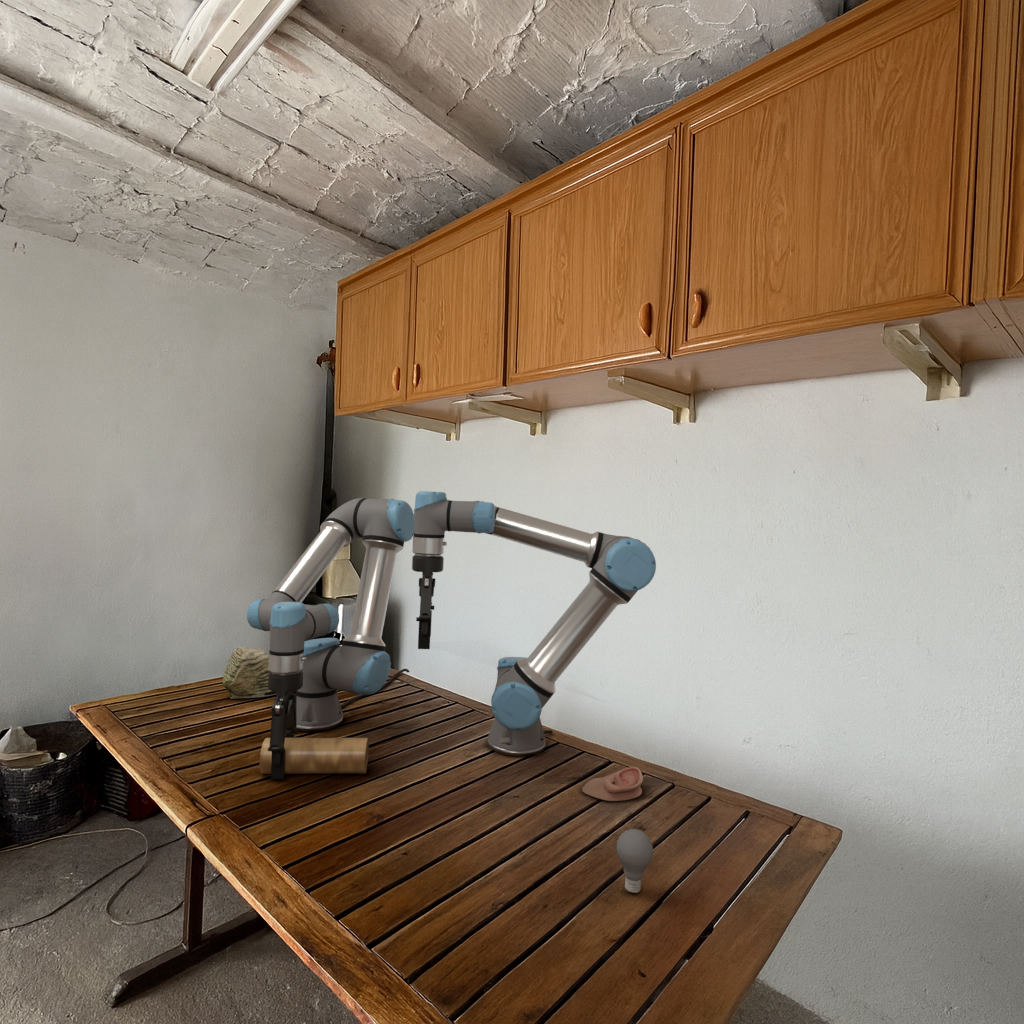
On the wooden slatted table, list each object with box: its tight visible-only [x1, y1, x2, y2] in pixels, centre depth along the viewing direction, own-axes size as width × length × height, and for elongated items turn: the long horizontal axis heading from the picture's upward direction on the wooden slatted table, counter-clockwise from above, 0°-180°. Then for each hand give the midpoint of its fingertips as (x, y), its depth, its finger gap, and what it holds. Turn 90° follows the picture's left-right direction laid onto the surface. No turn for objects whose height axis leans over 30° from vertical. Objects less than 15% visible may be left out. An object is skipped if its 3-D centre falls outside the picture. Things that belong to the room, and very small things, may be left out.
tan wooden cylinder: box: [259, 737, 370, 775], centre depth 145 cm, size 23×8×8 cm, turn 96°
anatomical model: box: [581, 766, 644, 802], centre depth 142 cm, size 13×4×12 cm
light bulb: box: [615, 828, 654, 894], centre depth 106 cm, size 6×6×10 cm
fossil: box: [222, 646, 277, 699], centre depth 198 cm, size 9×18×15 cm, turn 132°
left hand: (282, 770), depth 145 cm, fingers closed on tan wooden cylinder, 8 cm apart
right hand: (424, 642), depth 154 cm, fingers open, 13 cm apart
